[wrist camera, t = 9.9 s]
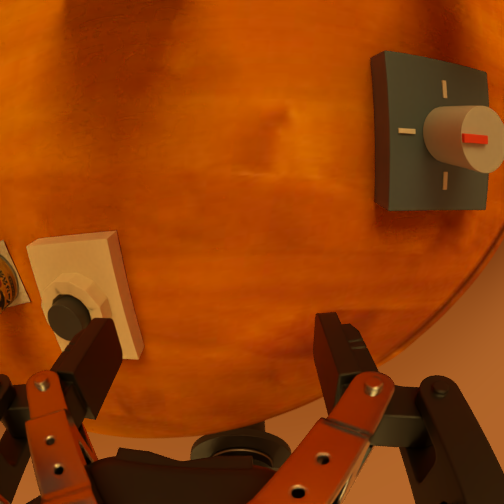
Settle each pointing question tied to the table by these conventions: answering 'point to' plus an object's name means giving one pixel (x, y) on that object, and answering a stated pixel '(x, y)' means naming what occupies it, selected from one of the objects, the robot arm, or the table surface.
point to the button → (68, 317)
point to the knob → (465, 137)
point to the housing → (88, 281)
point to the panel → (421, 133)
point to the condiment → (10, 282)
